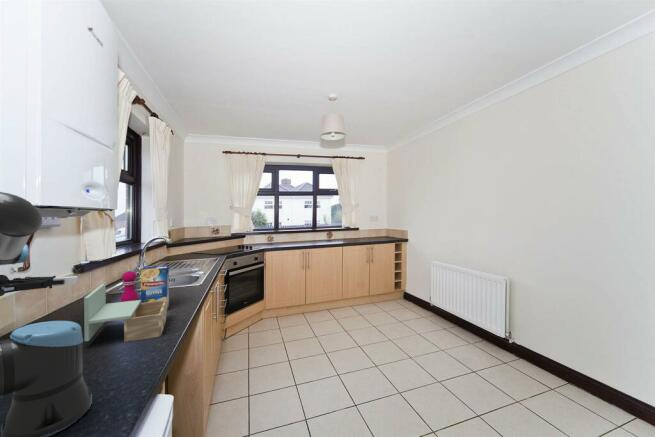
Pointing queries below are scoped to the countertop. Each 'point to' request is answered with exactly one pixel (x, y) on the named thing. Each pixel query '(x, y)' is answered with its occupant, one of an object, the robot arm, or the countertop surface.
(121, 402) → the countertop surface
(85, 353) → the countertop surface
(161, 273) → the blue food box
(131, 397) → the countertop surface
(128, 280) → the pepper mill
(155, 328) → the wooden box
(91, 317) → the grey-green angled piece
